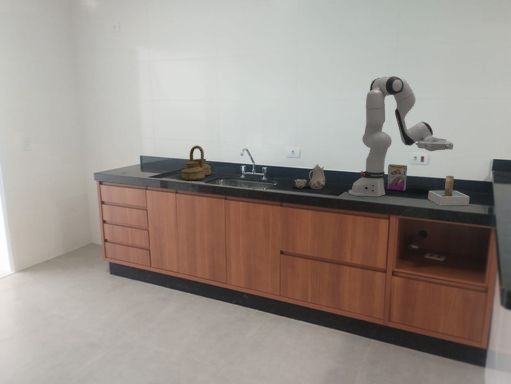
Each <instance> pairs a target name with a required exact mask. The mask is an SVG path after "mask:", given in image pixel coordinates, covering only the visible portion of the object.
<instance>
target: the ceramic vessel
mask: <svg viewBox="0 0 511 384" xmlns="http://www.w3.org/2000/svg"><path fill="white" fill-rule="evenodd" d="M196 149H197V150H199V152H200V158H195V159H194V151H195V150H196ZM206 161H207V158H205V151H204V149H203V148H202V147H201V146H200V145H193V146H192V148H190V151H189V161H187V162H185V165H186V167H181V168H180V169H181V179H182V180H185V181H197V180H202V179H204V178H206V176H210V175H211V173H212V171H211V165H209V164H208V163H206Z"/></svg>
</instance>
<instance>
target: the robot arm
mask: <svg viewBox="0 0 511 384" xmlns="http://www.w3.org/2000/svg"><path fill="white" fill-rule="evenodd" d="M387 96H393V97H394V100H395V102H396V109H395V110H394V113H395V114H394V115H395V119H396V123H397V126H398V131H399V134H400V139H401V142H402V143H403V145H405V146H412V145H414V144H415V145H416V146H417V148H418V149H425V150H426V151H429V152H435V151H446V150H453V148H454V143H453V142H451V141H448V140H447V138H446V139H444V138H438V137H436V136H435V137H434V132H433V129H432V127H431V125H430V124H429V123H428V122H425V121H420V122H417V123H416V124H415V125H413V126H411V127H410V128H408V129H407V126H406V121H405V118H406V116H407V114H408V113H409V112H410V111H411V110H412V109H413V107H414V105H415V103H416V95H415V93H414V92H413V89H412V87H411V86H410V84H409V83H408V82H407V80H405V79H404V78H400V77H398V76H382V77H377V78H375V79H373V80H372V81H371V83H370V87H369V91H368V92H367V94H366V99H365V116H366V119H365V129H364V133H363V135H362V139H361V140H362V143H363V145H364V146H366V147H367V148H369V153H368V155H367V157H366V158H365V159H366V160H365V170H364V171H363V170H361V171H360V173H359V174H360V175H362V176H361V177H360V178H359V179H357V180H356V181H355V182H353V184H352V188H351V189H349V190H348V192H349V193H348V194H349V195H351V196H353V197H354V196H355V197H381V196H385V195H386V191H385V176H386V174H385V172H386V171H385V164H386V163H385V161H386V160H385V159H386V157H387V154H388V153H387V152H388V149H389V148H390V147H391V145H392V142H393V141H392V138H391V137H392V136H390V135H389V134H388V133H386V132H384V131H383V127H384V123H385V122H386V104H385V100H386V97H387Z"/></svg>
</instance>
